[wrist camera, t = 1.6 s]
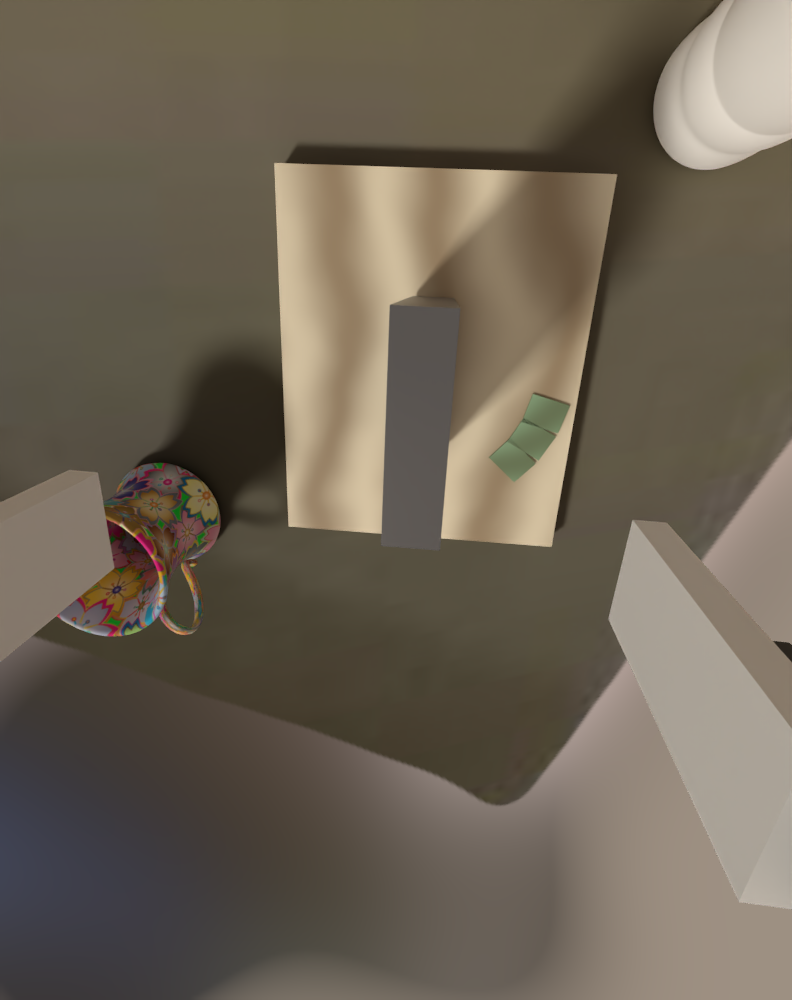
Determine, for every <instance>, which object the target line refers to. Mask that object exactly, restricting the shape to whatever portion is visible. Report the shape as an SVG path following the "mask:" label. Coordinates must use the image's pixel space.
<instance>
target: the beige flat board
mask: <svg viewBox="0 0 792 1000" xmlns="http://www.w3.org/2000/svg"><path fill="white" fill-rule="evenodd" d="M274 165H275V191H276V217H277V242H278V268H279V293H280V319H281V344H282V370H283V395H284V421H285V446H286V472H287V497H288V523H289V526H290V527H303V528H316V529H329V530H342V531H355V532H367V533H380V534H381V533H382V505H383V477H384V450H385V422H386V395H387V367H388V339H389V312H390V305H391V304H393V303H396V302H399V301H401V300H404V299H406V298H409V297H412V296H426V297H446V298H455V300H456V302H457V303H458V305H459V307H460V320H459V332H458V343H457V355H456V367H455V379H454V390H453V402H452V414H451V426H450V437H449V449H448V461H447V473H446V485H445V496H444V508H443V520H442V532H441V538H444V539H457V540H470V541H483V542H496V543H509V544H521V545H534V546H547V547H552V541H553V535H554V530H555V524H556V518H557V513H558V507H559V501H560V496H561V490H562V484H563V479H564V473H565V467H566V462H567V456H568V450H569V445H570V439H571V433H572V428H573V422H574V416H575V411H576V405H577V399H578V394H579V388H580V382H581V377H582V371H583V365H584V360H585V354H586V348H587V343H588V337H589V331H590V326H591V320H592V314H593V309H594V303H595V297H596V292H597V286H598V280H599V275H600V269H601V263H602V258H603V252H604V246H605V241H606V235H607V229H608V224H609V218H610V212H611V207H612V201H613V195H614V190H615V184H616V178H617V174H596V173H566V172H535V171H505V170H474V169H444V168H413V167H383V166H352V165H322V164H291V163H274Z"/></svg>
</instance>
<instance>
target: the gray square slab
mask: <svg viewBox="0 0 792 1000" xmlns="http://www.w3.org/2000/svg"><path fill="white" fill-rule="evenodd" d="M459 320H460V307H459V305H458V303H457V302H456V300H455V298H446V297H426V296H412V297H409V298H406V299H404V300H401V301H399V302H396V303H393V304H391V305H390V312H389V339H388V367H387V395H386V422H385V450H384V477H383V505H382V533H381V546H389V547H402V548H415V549H427V550H440V543H441V532H442V520H443V508H444V496H445V485H446V473H447V461H448V449H449V437H450V426H451V414H452V402H453V390H454V379H455V367H456V355H457V343H458V332H459Z"/></svg>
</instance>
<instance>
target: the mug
mask: <svg viewBox="0 0 792 1000" xmlns="http://www.w3.org/2000/svg"><path fill="white" fill-rule="evenodd" d="M103 505H104V510H105V516H106V522H107V528H108V534H109V539H110V545H111V551H112V557H113V563H114V569H113V570H112V571H110V572H109V573H108V574H107V575H105V576H104V577H103V578H102V579H101V580H99V581H98V582H97V583H96V584H94V585H93V586H92V587H91V588H90V589H88V590H87V591H86V592H85V593H84V594H82V595H81V596H80V597H79V598H77V599H76V600H75V601H74V602H73V603H71V604H70V605H69V606H68V607H66V608H65V609H64V610H63V611H62V612H60V613H59V614H58V615H57V617H59V618H60V619H62V620H63V621H65V622H66V623H68V624H70V625H72V626H74V627H76V628H78V629H81V630H83V631H86V632H89V633H93V634H97V635H103V636H123V635H129V634H132V633H135V632H138V631H140V630H142V629H144V628H146V627H147V626H149V625H150V624H151V623H152V622H153V621H154V620H155V619H156V618H157V617H158V616H160V618H161V620H162V622H163V623H164V624H165V625H166V626H167V627H168V628H169V629H170V630H172V631H173V632H175V633H177V634H181V635H188V634H191V633H193V632H194V631H196V630H197V629H198V628H199V626H200V625H201V622H202V619H203V599H202V594H201V590H200V586H199V583H198V581H197V579H196V576H195V574H194V572H193V570H192V568H191V567H194V566H195V565H197V560H194V558H197V557H199V556H201V555H203V554H204V553H205V552H207V551H208V550H209V549H210V548H211V547H212V546H213V544H214V543H215V541H216V539H217V537H218V534H219V530H220V522H221V519H220V511H219V508H218V504H217V502H216V500H215V498H214V496H213V494H212V492H211V491H210V490H209V488H208V487H207V486H206V485H205V484H204V483H203V482H202V481H201V480H200V479H199V478H198V477H197V476H195V475H194V474H193V473H191V472H189V471H188V470H186V469H184V468H182V467H179V466H176V465H173V464H168V463H149V464H144V465H141V466H139V467H137V468H135V469H133V470H132V471H130V472H129V473H128V474H127V475H126V476H125V477H124V478H123V480H122V481H121V483H120V484H119V486H118V489H117V492H116V494H115V495H114V496H113V497H112V498H110V499H109V500H107V501H104V502H103ZM180 563H182V564H181V568H182V571H183V573H184V575H185V577H186V579H187V581H188V583H189V586H190V588H191V591H192V595H193V599H194V605H195V618H194V623H193V625H192V627H185V626H182V625H180V624H179V623H177V622H176V621H175V620H174V619H173V618H172V616H171V615H170V613H169V612H168V609H167V607H166V598H167V593H168V584H169V580H170V578H171V576H172V574H173V572H174V570H175V569H176V568H177V566H178V565H179V564H180Z"/></svg>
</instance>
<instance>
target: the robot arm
mask: <svg viewBox="0 0 792 1000" xmlns="http://www.w3.org/2000/svg"><path fill="white" fill-rule="evenodd" d="M113 569H114V563H113V557H112V551H111V545H110V539H109V534H108V528H107V522H106V516H105V510H104V505H103V499H102V493H101V487H100V482H99V476H98V473H97V472H86V471H75V470H68V471H66V472H64V473H62V474H60V475H58V476H56V477H53V478H51V479H49V480H47V481H45V482H43V483H41V484H39V485H36V486H34V487H32V488H30V489H28V490H26V491H24V492H22V493H19V494H17V495H15V496H13V497H11V498H9V499H7V500H5V501H2V502H0V661H2V660H3V659H4V658H6V657H7V656H8V655H9V654H10V653H12V652H13V651H14V650H15V649H16V648H18V647H19V646H20V645H21V644H23V643H24V642H25V641H26V640H27V639H29V638H30V637H31V636H32V635H34V634H35V633H36V632H37V631H38V630H40V629H41V628H42V627H43V626H45V625H46V624H47V623H48V622H49V621H51V620H52V619H53V618H54V617H56V616H57V615H58V614H59V613H60V612H62V611H63V610H64V609H65V608H66V607H68V606H69V605H70V604H71V603H73V602H74V601H75V600H76V599H77V598H79V597H80V596H81V595H82V594H84V593H85V592H86V591H87V590H88V589H90V588H91V587H92V586H93V585H94V584H96V583H97V582H98V581H99V580H101V579H102V578H103V577H104V576H105V575H107V574H108V573H109V572H110V571H112V570H113ZM609 621H610V623H611V626H612V628H613V630H614V632H615V634H616V636H617V639H618V641H619V643H620V645H621V647H622V650H623V652H624V654H625V656H626V658H627V660H628V663H629V665H630V667H631V669H632V671H633V673H634V676H635V677H636V680H637V682H638V684H639V686H640V688H641V691H642V693H643V695H644V697H645V700H646V702H647V704H648V706H649V708H650V710H651V712H652V715H653V717H654V719H655V721H656V723H657V726H658V728H659V730H660V732H661V734H662V736H663V738H664V741H665V743H666V745H667V747H668V749H669V752H670V754H671V756H672V758H673V760H674V762H675V765H676V767H677V769H678V771H679V773H680V776H681V778H682V780H683V782H684V784H685V786H686V789H687V791H688V793H689V795H690V797H691V799H692V802H693V804H694V806H695V808H696V810H697V812H698V815H699V817H700V819H701V821H702V823H703V825H704V828H705V830H706V832H707V834H708V836H709V838H710V841H711V843H712V845H713V847H714V850H715V852H716V854H717V856H718V858H719V860H720V862H721V865H722V867H723V869H724V871H725V873H726V876H727V878H728V879H729V882H730V884H731V886H732V889H733V891H734V892H735V895H736V897H737V899H738V902H743V903H750V904H758V905H764V906H772V907H779V908H786V909H792V645H791V644H790V643H786V642H777V641H772V640H771V639H770V638H769V636H768V635H767V634H766V633H765V632H764V631H763V630H762V629H761V627H760V626H759V625H758V624H757V623H756V622H755V621H754V620H753V619H752V617H751V616H750V615H749V614H748V613H747V612H746V611H745V610H744V608H743V607H742V606H741V605H740V604H739V603H738V602H737V601H736V600H735V599H734V597H733V596H732V595H731V594H730V593H729V592H728V591H727V589H726V588H725V587H724V586H723V585H722V584H721V583H720V582H719V581H718V580H717V578H716V577H715V576H714V575H713V574H712V573H711V572H710V571H709V569H708V568H707V567H706V566H705V565H704V564H703V563H702V562H701V560H700V559H699V558H698V557H697V556H696V555H695V554H694V553H693V552H692V550H691V549H690V548H689V547H688V546H687V545H686V544H685V543H684V541H683V540H682V539H681V538H680V537H679V536H678V535H677V534H676V533H675V531H674V530H673V529H672V528H671V527H670V526H669V525H668V524H667V523H664V522H652V521H641V520H633V521H632V525H631V529H630V533H629V537H628V541H627V545H626V549H625V553H624V557H623V562H622V566H621V570H620V574H619V578H618V582H617V586H616V590H615V594H614V598H613V602H612V606H611V611H610V615H609Z"/></svg>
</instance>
